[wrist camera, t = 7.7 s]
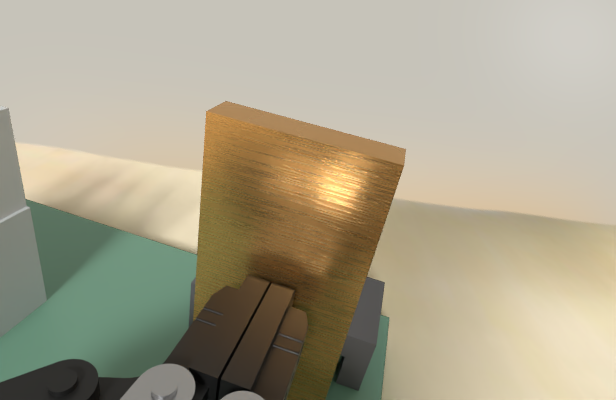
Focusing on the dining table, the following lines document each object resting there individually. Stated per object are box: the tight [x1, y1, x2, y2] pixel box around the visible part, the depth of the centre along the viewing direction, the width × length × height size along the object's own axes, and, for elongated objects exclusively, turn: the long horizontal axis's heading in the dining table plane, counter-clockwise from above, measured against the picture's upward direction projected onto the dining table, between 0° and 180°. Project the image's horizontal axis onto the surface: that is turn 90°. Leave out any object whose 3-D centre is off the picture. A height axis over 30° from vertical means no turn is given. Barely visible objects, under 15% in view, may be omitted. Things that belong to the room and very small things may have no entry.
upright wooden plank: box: [193, 101, 406, 400], centre depth 15 cm, size 6×5×11 cm
